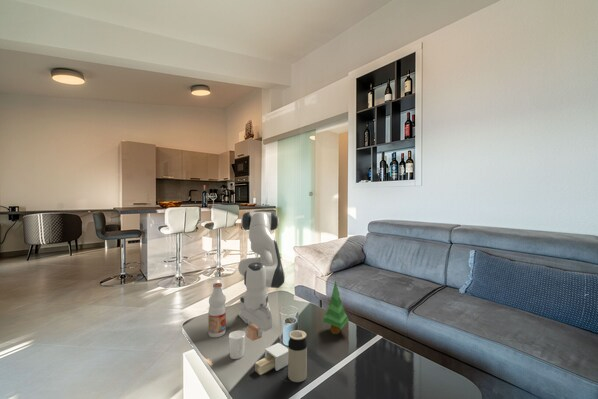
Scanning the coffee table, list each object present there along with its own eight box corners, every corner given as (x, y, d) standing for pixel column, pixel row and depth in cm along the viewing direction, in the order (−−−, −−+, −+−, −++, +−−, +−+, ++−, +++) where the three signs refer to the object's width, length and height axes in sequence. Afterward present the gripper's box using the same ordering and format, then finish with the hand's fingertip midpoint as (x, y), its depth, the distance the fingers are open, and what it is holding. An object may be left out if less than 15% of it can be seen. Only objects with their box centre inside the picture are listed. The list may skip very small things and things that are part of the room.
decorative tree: (339, 324, 159) (339, 275, 159) (352, 337, 144) (352, 282, 144) (319, 327, 154) (319, 277, 155) (330, 341, 139) (330, 285, 140)
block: (247, 336, 113) (247, 326, 113) (255, 333, 116) (255, 323, 116) (252, 341, 109) (253, 330, 110) (261, 337, 113) (261, 327, 113)
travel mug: (292, 385, 106) (292, 340, 106) (285, 373, 113) (285, 331, 113) (309, 379, 109) (310, 336, 109) (302, 368, 116) (302, 328, 116)
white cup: (239, 348, 132) (239, 328, 132) (248, 355, 126) (248, 334, 126) (225, 355, 126) (225, 334, 126) (234, 362, 121) (234, 340, 121)
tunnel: (265, 361, 121) (265, 348, 121) (278, 354, 126) (278, 342, 126) (276, 370, 114) (276, 357, 114) (290, 363, 120) (290, 350, 120)
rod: (255, 371, 114) (255, 362, 114) (285, 355, 127) (285, 346, 127) (260, 376, 111) (260, 366, 112) (291, 358, 124) (291, 350, 124)
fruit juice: (208, 330, 150) (209, 282, 150) (225, 328, 152) (225, 280, 153) (207, 339, 141) (208, 287, 141) (225, 336, 143) (226, 285, 144)
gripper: (276, 306, 108) (275, 339, 108) (249, 293, 123) (249, 322, 123) (263, 310, 103) (263, 345, 103) (237, 296, 118) (237, 326, 118)
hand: (255, 332), depth 113 cm, fingers closed on block, 4 cm apart
